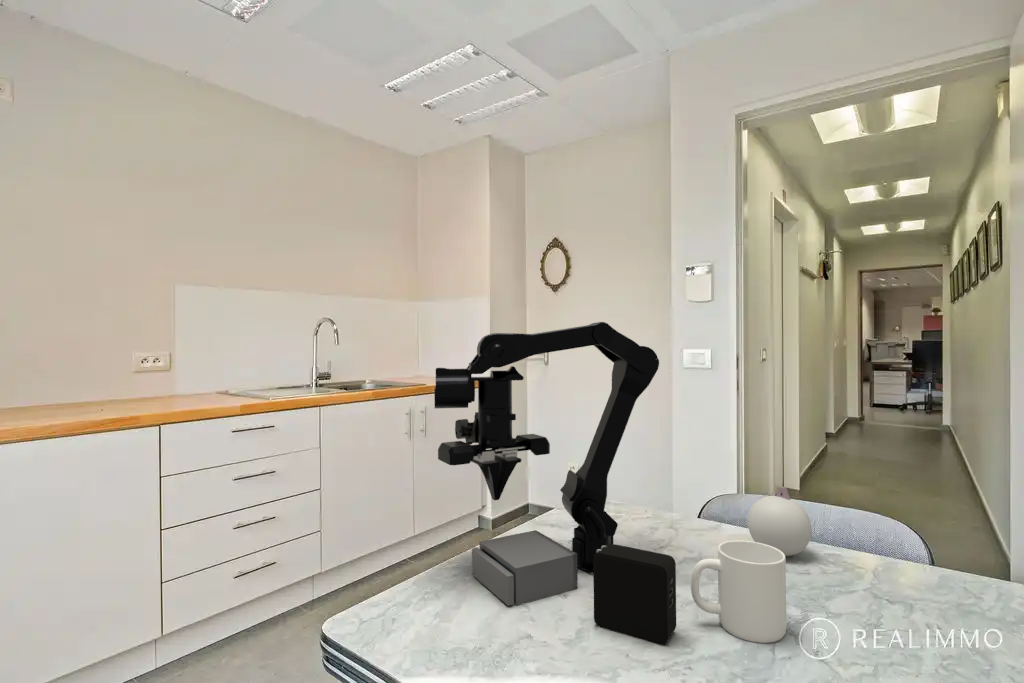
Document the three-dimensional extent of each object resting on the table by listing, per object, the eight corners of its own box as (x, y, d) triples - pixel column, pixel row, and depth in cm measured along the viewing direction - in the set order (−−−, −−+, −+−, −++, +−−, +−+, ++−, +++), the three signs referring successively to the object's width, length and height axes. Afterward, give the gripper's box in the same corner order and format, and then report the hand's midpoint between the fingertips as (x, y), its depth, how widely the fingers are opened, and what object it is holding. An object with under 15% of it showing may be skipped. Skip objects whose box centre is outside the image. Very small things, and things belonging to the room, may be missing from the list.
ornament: (813, 550, 98) (812, 484, 98) (809, 570, 90) (809, 498, 90) (753, 539, 104) (752, 477, 104) (744, 557, 95) (743, 490, 95)
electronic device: (667, 647, 67) (666, 567, 67) (593, 625, 72) (592, 551, 72) (676, 632, 70) (675, 556, 71) (605, 612, 76) (604, 542, 76)
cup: (797, 646, 67) (796, 565, 67) (698, 640, 68) (697, 561, 68) (772, 613, 75) (771, 541, 75) (684, 609, 77) (684, 538, 77)
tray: (530, 560, 93) (529, 536, 94) (571, 588, 83) (571, 561, 83) (472, 574, 88) (471, 548, 88) (507, 605, 77) (507, 576, 77)
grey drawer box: (536, 560, 94) (535, 530, 94) (577, 588, 83) (577, 553, 83) (479, 574, 89) (479, 541, 89) (516, 605, 78) (516, 568, 78)
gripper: (519, 400, 102) (519, 482, 102) (426, 406, 93) (426, 495, 93) (551, 405, 92) (551, 496, 92) (450, 412, 83) (451, 513, 83)
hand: (495, 499), depth 90 cm, fingers closed
